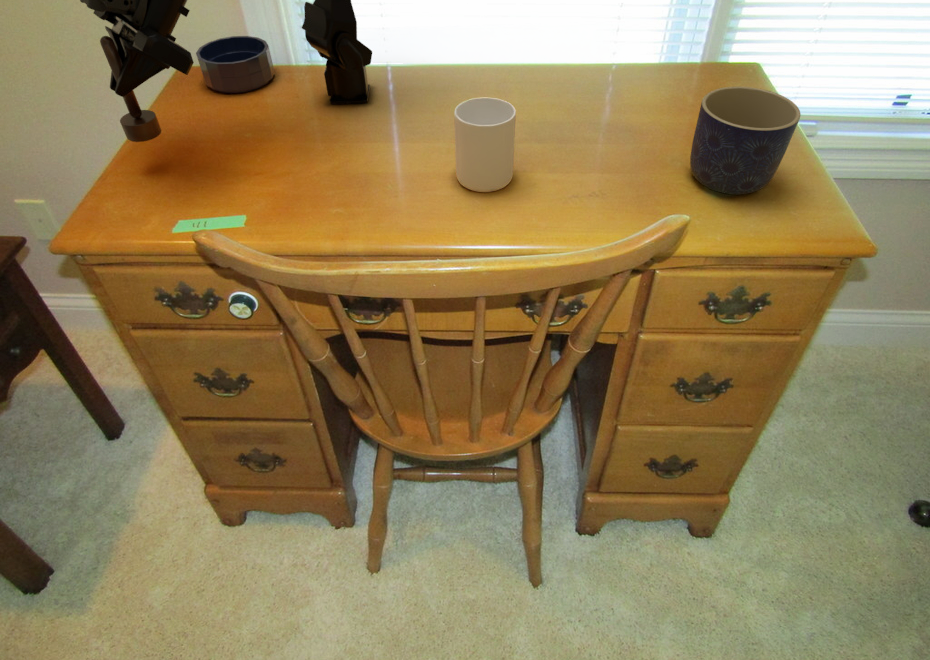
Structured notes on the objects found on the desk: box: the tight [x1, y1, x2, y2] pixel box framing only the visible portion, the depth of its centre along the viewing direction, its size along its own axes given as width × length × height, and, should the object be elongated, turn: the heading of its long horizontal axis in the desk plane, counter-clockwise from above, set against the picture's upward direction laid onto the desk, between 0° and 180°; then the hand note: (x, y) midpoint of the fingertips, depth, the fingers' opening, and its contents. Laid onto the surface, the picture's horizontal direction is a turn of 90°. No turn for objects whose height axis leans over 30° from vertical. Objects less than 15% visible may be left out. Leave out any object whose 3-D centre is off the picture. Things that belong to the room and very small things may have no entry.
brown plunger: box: [99, 35, 162, 143], centre depth 87 cm, size 5×5×14 cm
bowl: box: [195, 35, 276, 94], centre depth 115 cm, size 12×12×6 cm
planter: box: [689, 85, 801, 195], centre depth 87 cm, size 12×12×11 cm
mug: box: [453, 96, 517, 193], centre depth 90 cm, size 12×8×10 cm
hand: (116, 92), depth 86 cm, fingers closed on brown plunger
